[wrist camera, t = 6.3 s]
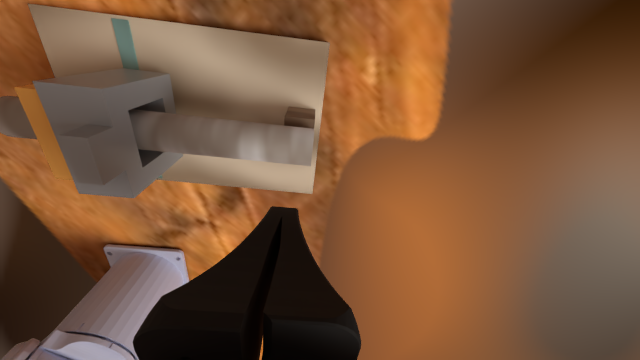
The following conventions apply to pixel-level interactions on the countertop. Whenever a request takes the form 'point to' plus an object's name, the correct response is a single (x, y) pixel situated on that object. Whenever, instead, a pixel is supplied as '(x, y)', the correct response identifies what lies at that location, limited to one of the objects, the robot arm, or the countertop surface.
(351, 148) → the countertop surface
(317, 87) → the pipe rig
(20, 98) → the orange square ring
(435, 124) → the countertop surface
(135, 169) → the sleeve
